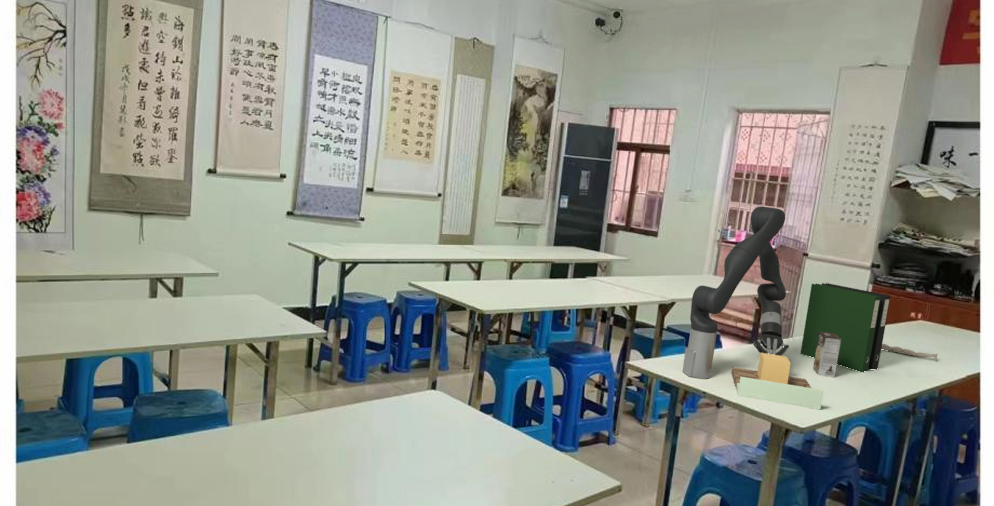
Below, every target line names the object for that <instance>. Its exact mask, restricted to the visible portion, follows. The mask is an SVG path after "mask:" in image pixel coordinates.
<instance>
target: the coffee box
mask: <svg viewBox="0 0 994 506" xmlns="http://www.w3.org/2000/svg"><path fill="white" fill-rule="evenodd" d="M840 343H841V338H840V337H839V336H838V335H836V334H835V333H828V332H819V335H818V341H817V347H816V353H815V358H814V361H813V366H812V367H813V368H812V369H813V370H814V372H815V371H816V372H815V373H816V374H817V375H818V376H821V375H825V376H824V377H828V376H831V378H835V377H836V370H837V366H838V365H837V360H838V355H839V349H840Z"/></svg>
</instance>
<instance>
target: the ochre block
mask: <svg viewBox="0 0 994 506" xmlns="http://www.w3.org/2000/svg"><path fill="white" fill-rule="evenodd" d="M790 370H791V361H790V360H789V358H788V357H787V356H785V355H781V356H779V355H773V354H766V353H760V352H759V360H758V366H757V371H758V372H757V374H758V376H759V378H760V380H765V381H771V382H777V383H783V384H787V383H788V377H789V375H790Z"/></svg>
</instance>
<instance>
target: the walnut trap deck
mask: <svg viewBox="0 0 994 506" xmlns="http://www.w3.org/2000/svg"><path fill="white" fill-rule="evenodd" d="M757 372H758V370H752V369H746V368H742V367H734V366H732V367H731V372H730V374H731V378H732V381H733V380H734V381H733V383H734V387H737V383H739V382H740V377H746V378H753V379H759V380H760V378H759V376H758V374H757ZM787 384H789V385H795V386H801V387H807V388H812V386H811V384H810V383H809V381H807V379H806V378H801V377H796V376H789V377H788V383H787Z"/></svg>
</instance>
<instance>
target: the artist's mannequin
mask: <svg viewBox="0 0 994 506" xmlns="http://www.w3.org/2000/svg"><path fill="white" fill-rule="evenodd" d="M881 349H884V350H890V351H892V352H893V351H894V352H898V353H897V354H905V355H906V354H908V355H907V356H911V355H913V356H912V357H917V356H918V357H919V358H934V362H935V361H936V362H937V361H938V355H939V354H938V353H927V352H915V351H914V350H911V349H907V348H902V347H899V346H890V345H888V344H885V343H882V348H881ZM890 351H889V352H890ZM894 352H893V353H894ZM918 357H917V358H918Z"/></svg>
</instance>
